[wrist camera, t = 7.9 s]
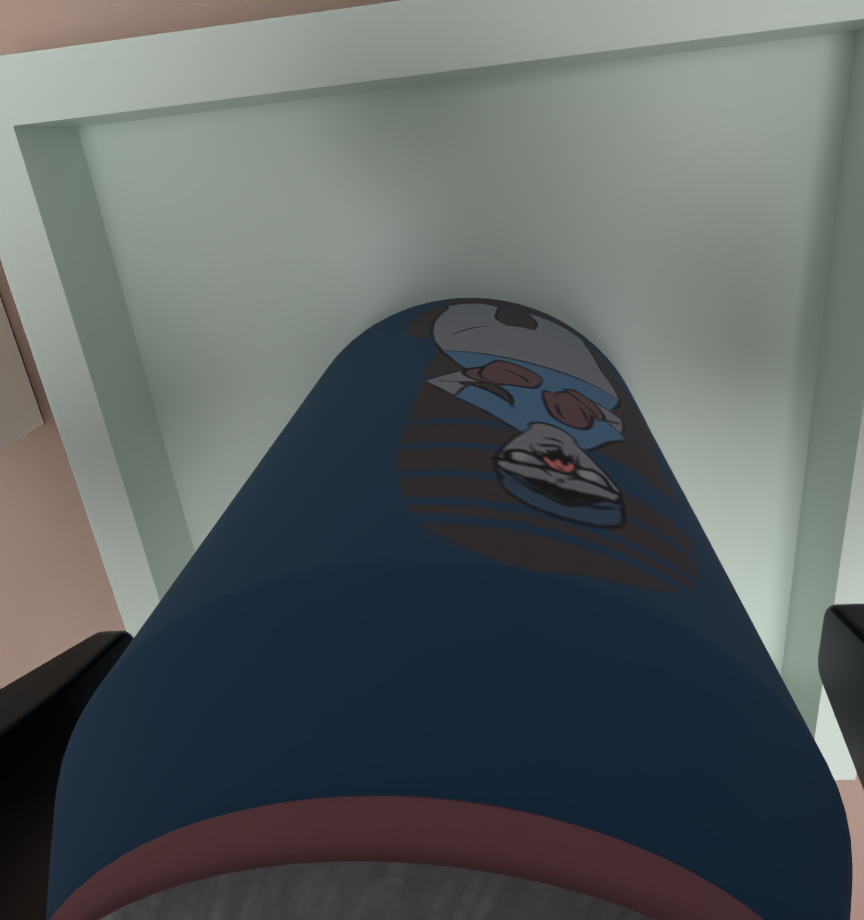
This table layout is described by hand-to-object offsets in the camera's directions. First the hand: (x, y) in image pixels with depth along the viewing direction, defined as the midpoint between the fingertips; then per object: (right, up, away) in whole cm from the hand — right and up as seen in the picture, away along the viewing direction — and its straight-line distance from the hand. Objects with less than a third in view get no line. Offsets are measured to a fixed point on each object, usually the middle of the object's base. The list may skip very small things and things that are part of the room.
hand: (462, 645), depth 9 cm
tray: (+1, +3, +7) cm, 7 cm away
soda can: (0, +3, +6) cm, 7 cm away
